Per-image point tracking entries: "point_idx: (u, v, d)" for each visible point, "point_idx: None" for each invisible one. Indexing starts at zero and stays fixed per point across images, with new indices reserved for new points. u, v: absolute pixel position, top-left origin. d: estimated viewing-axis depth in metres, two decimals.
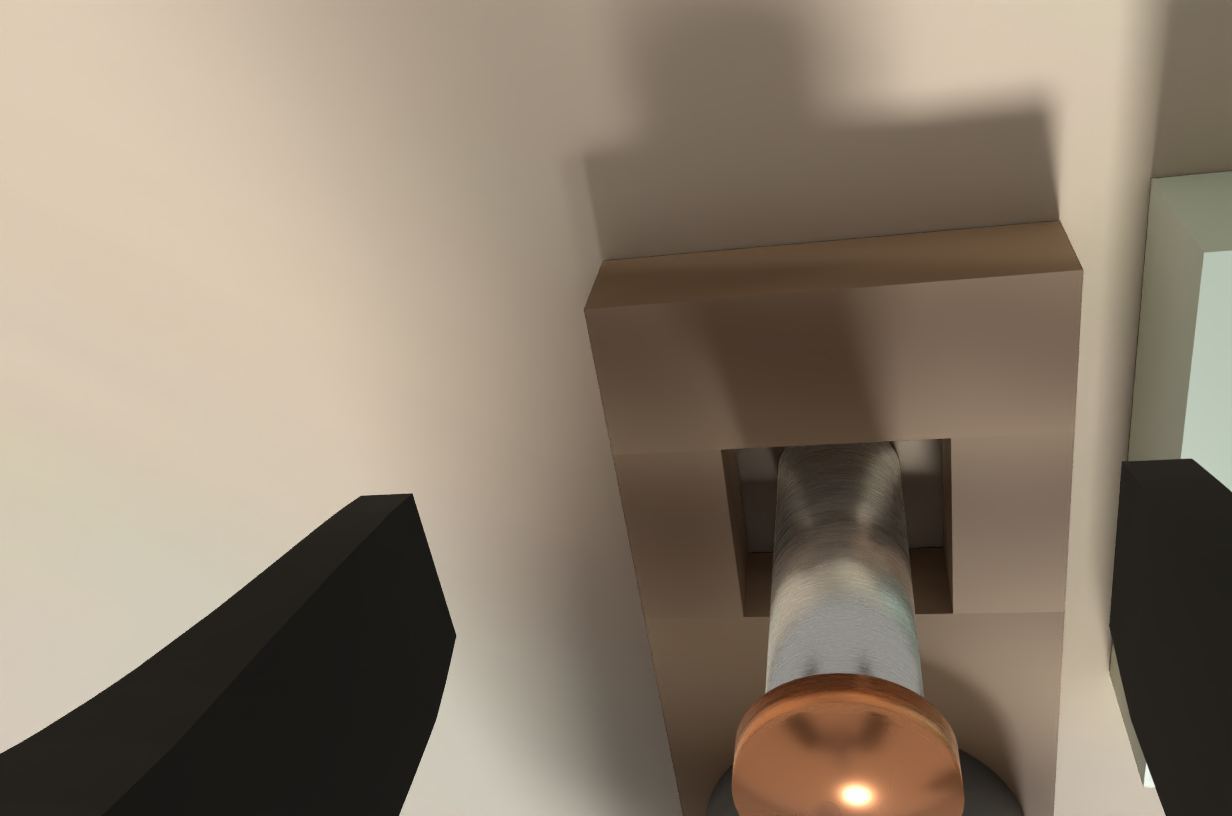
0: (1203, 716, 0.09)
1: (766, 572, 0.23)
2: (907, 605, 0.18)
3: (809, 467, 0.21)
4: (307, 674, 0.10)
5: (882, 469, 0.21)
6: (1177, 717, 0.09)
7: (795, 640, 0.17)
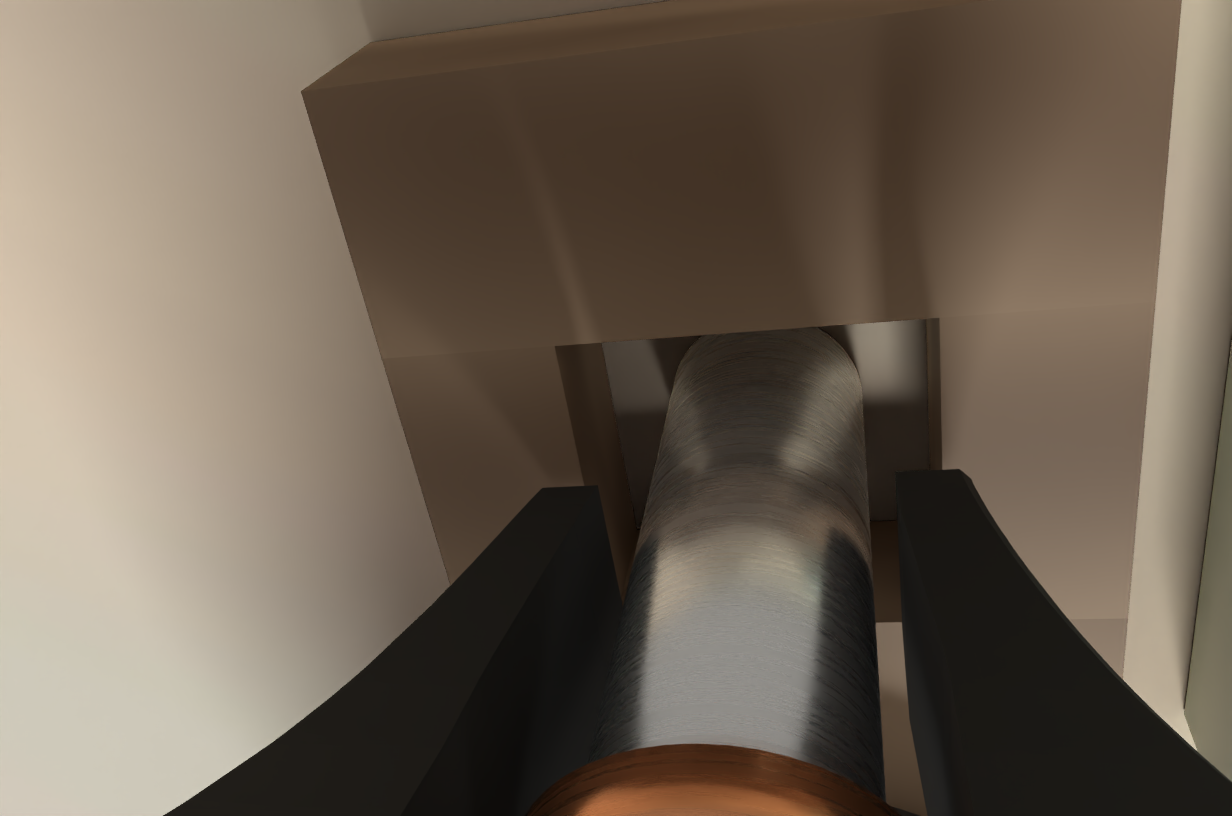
0: (930, 716, 0.09)
1: None
2: (859, 605, 0.10)
3: (709, 381, 0.13)
4: (530, 673, 0.09)
5: (828, 384, 0.13)
6: (922, 717, 0.10)
7: (640, 671, 0.09)
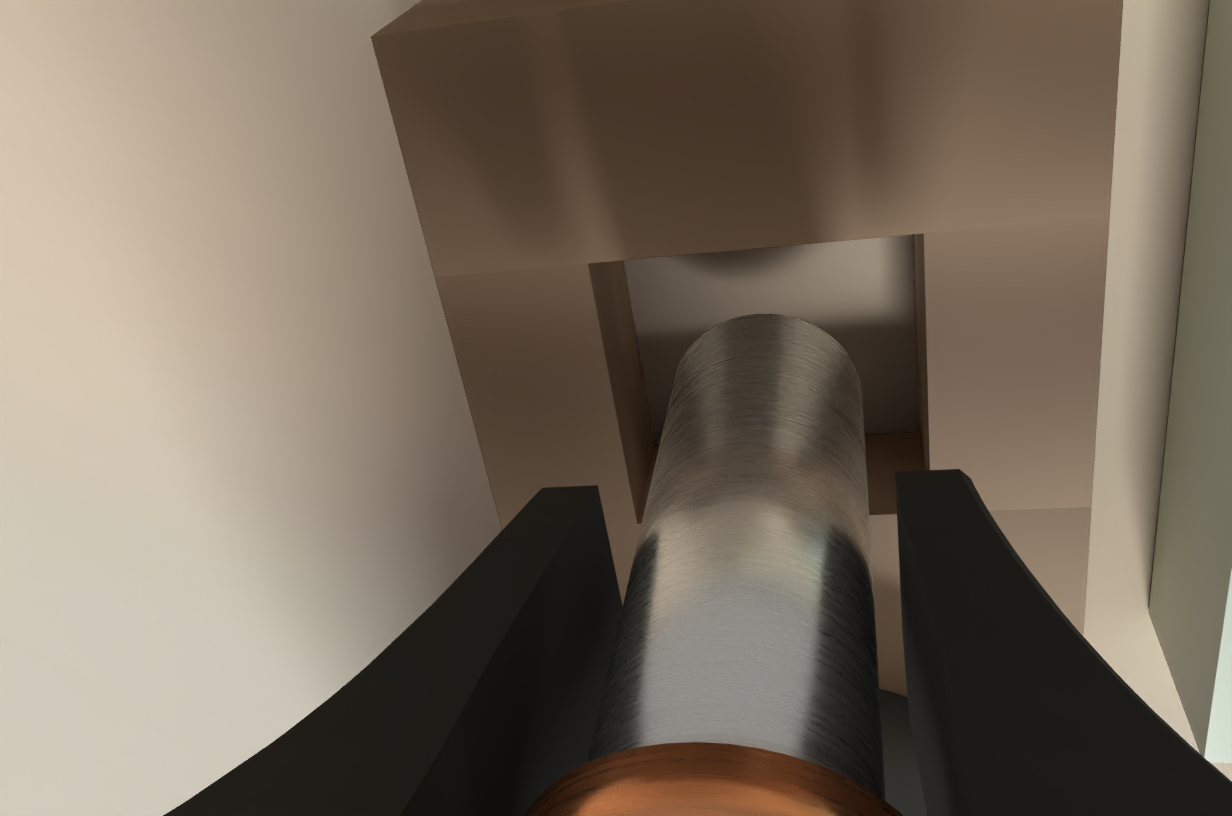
0: (930, 716, 0.09)
1: None
2: (858, 603, 0.10)
3: (709, 380, 0.13)
4: (530, 673, 0.09)
5: (828, 383, 0.13)
6: (923, 717, 0.10)
7: (640, 670, 0.09)
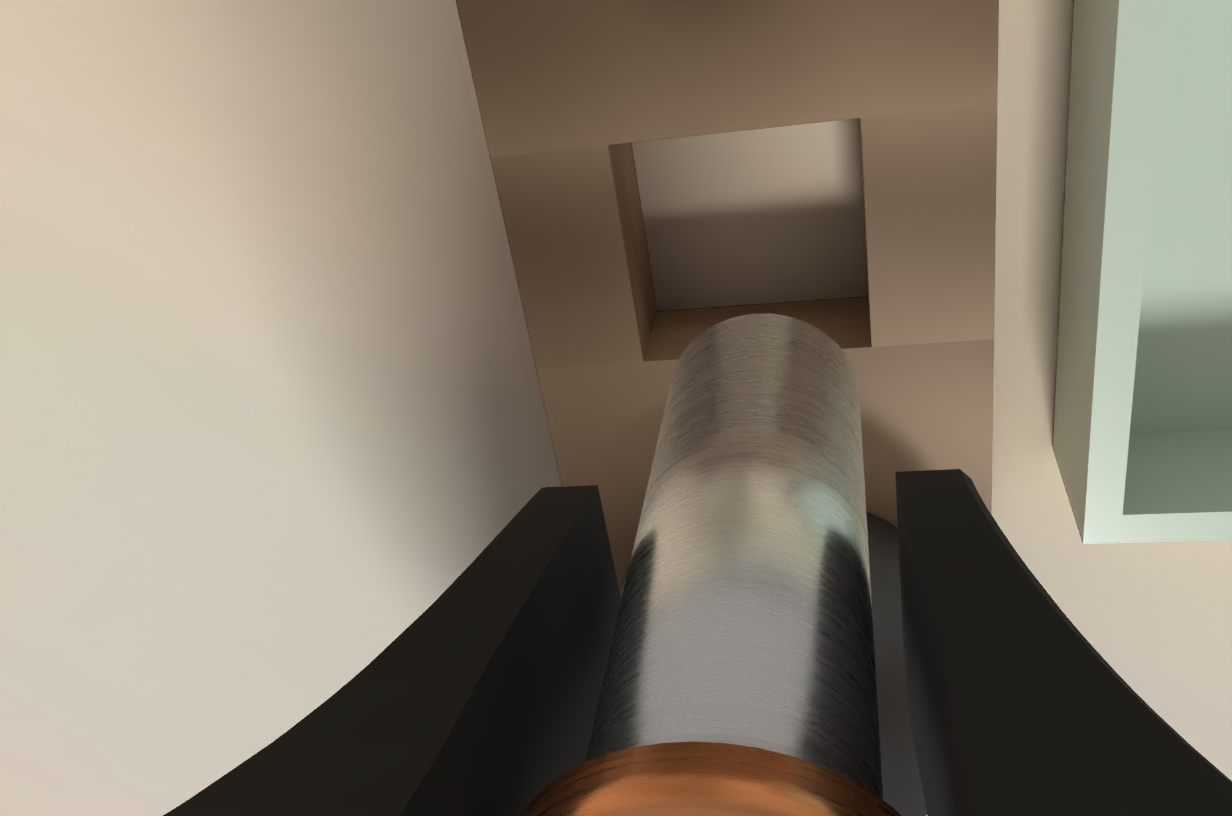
0: (931, 716, 0.09)
1: (673, 325, 0.21)
2: (855, 603, 0.10)
3: (706, 380, 0.13)
4: (529, 672, 0.09)
5: (825, 382, 0.13)
6: (923, 717, 0.10)
7: (638, 669, 0.09)
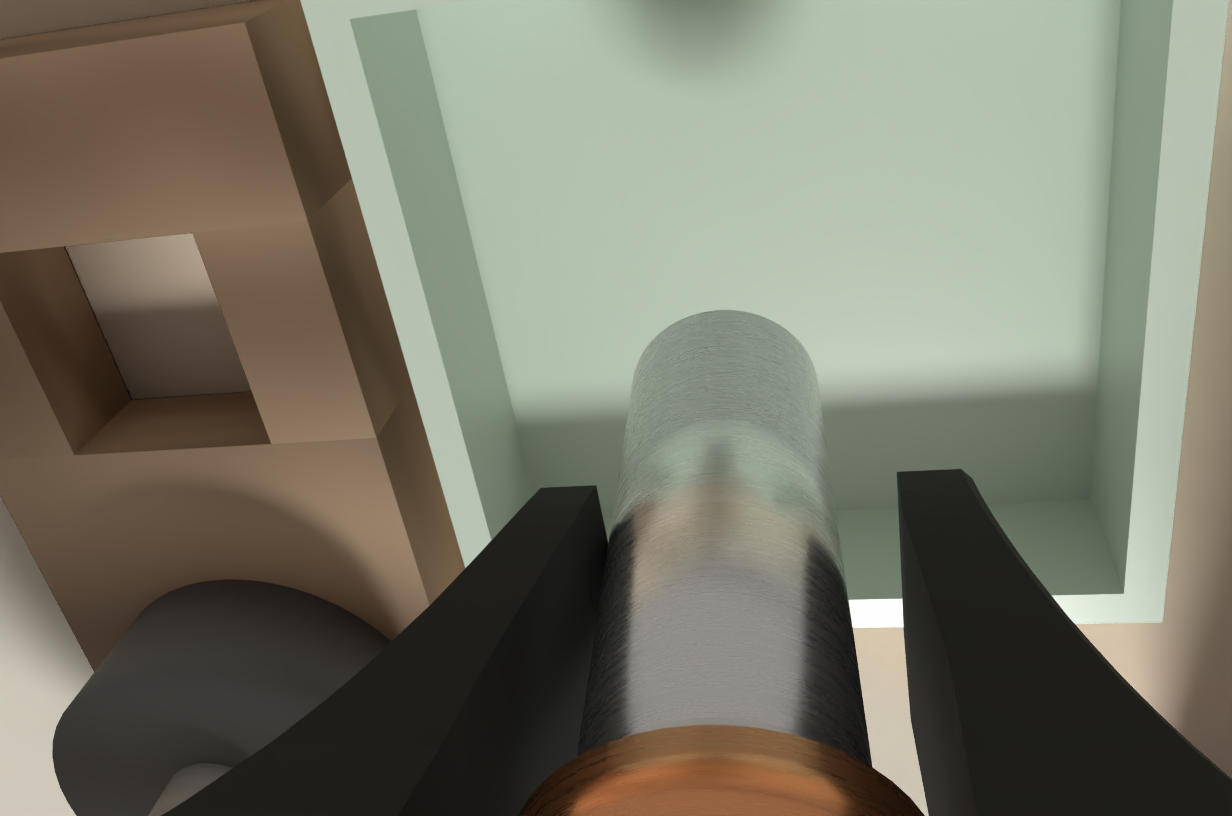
0: (932, 716, 0.09)
1: (130, 416, 0.22)
2: (834, 588, 0.10)
3: (671, 376, 0.13)
4: (528, 672, 0.09)
5: (788, 375, 0.13)
6: (924, 717, 0.10)
7: (627, 659, 0.09)
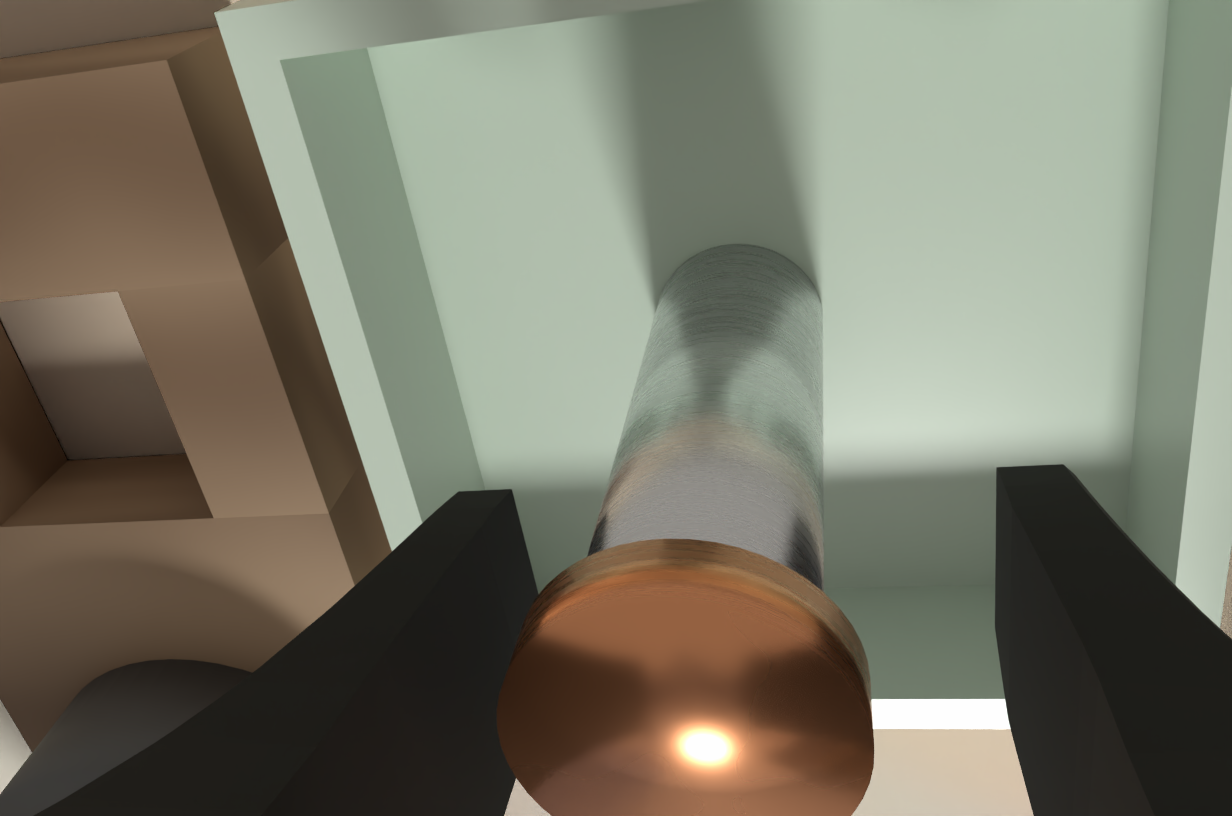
0: (1051, 716, 0.09)
1: (65, 480, 0.20)
2: (806, 464, 0.12)
3: (687, 297, 0.15)
4: (426, 673, 0.09)
5: (790, 299, 0.15)
6: (1036, 717, 0.09)
7: (623, 506, 0.11)
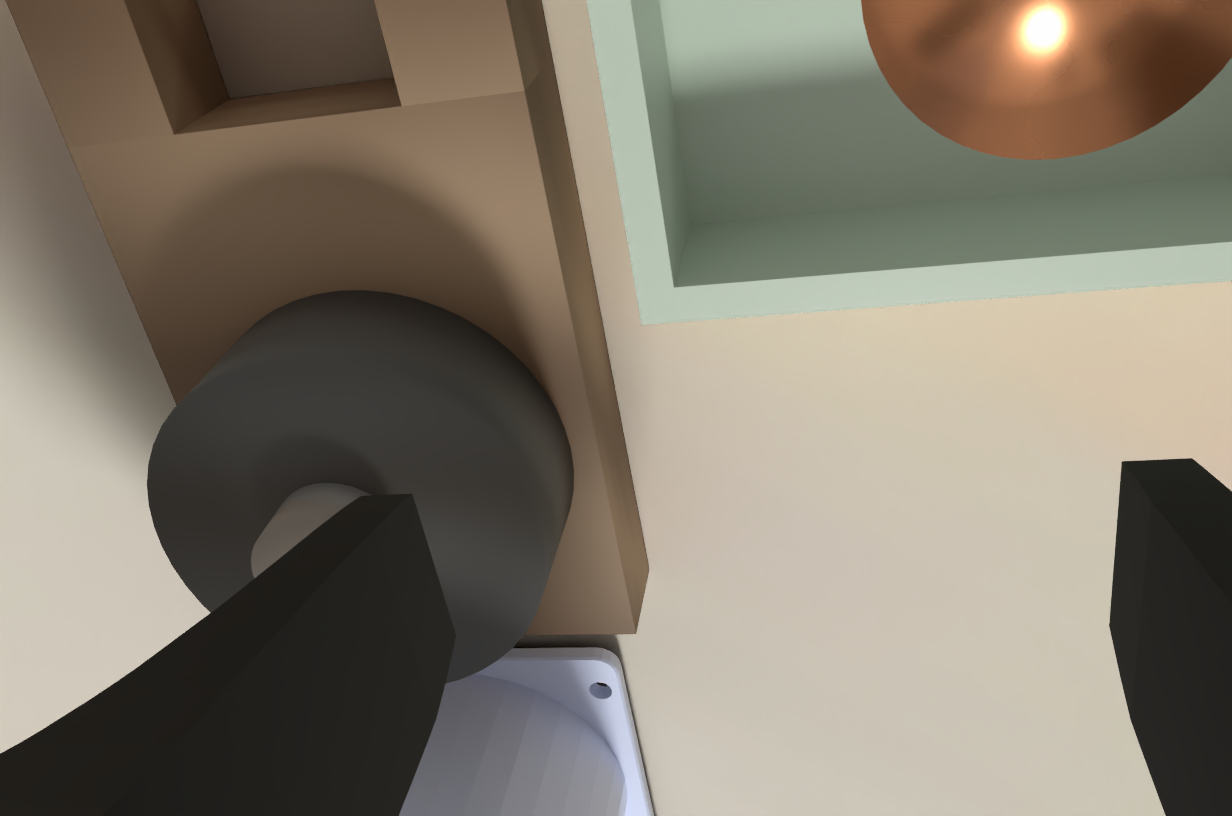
0: (1203, 717, 0.09)
1: (232, 107, 0.19)
2: None
3: None
4: (307, 674, 0.10)
5: None
6: (1177, 718, 0.09)
7: None
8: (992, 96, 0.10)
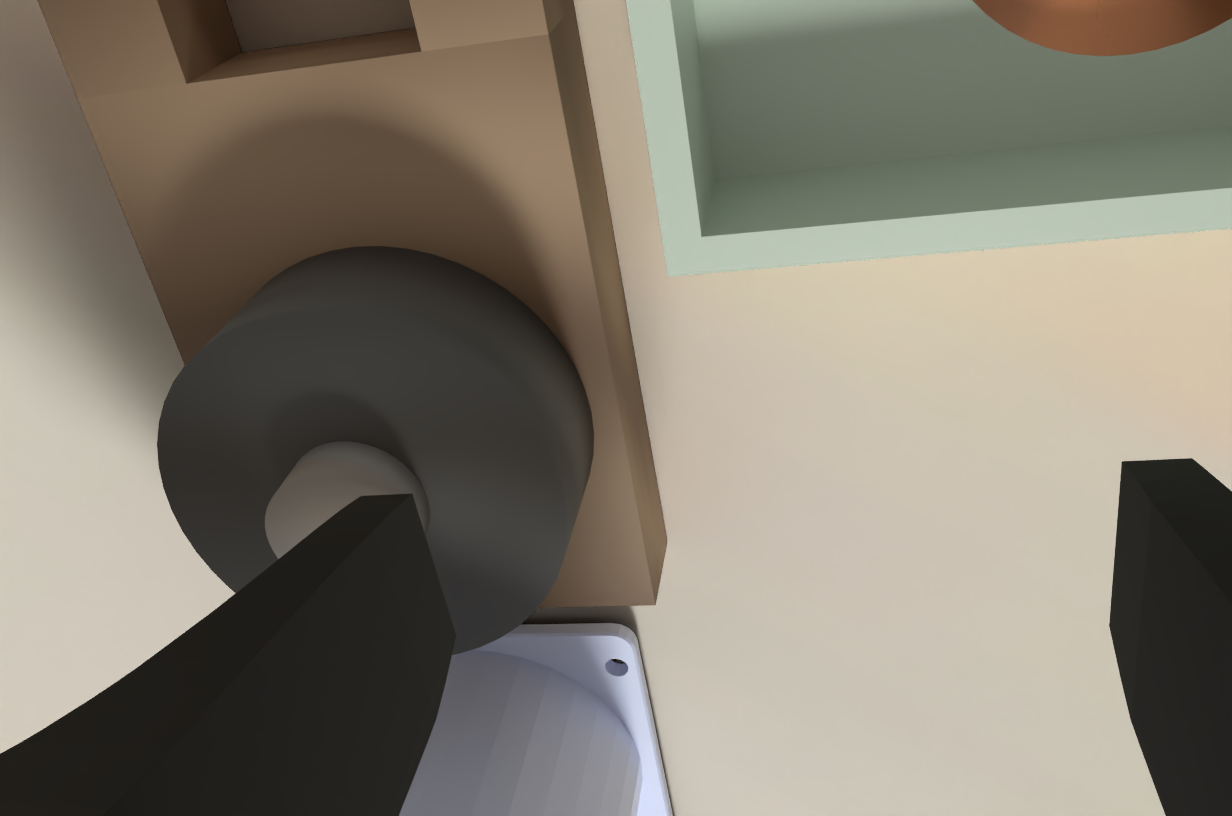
0: (1203, 716, 0.09)
1: (245, 58, 0.19)
2: None
3: None
4: (307, 674, 0.10)
5: None
6: (1177, 717, 0.09)
7: None
8: None
